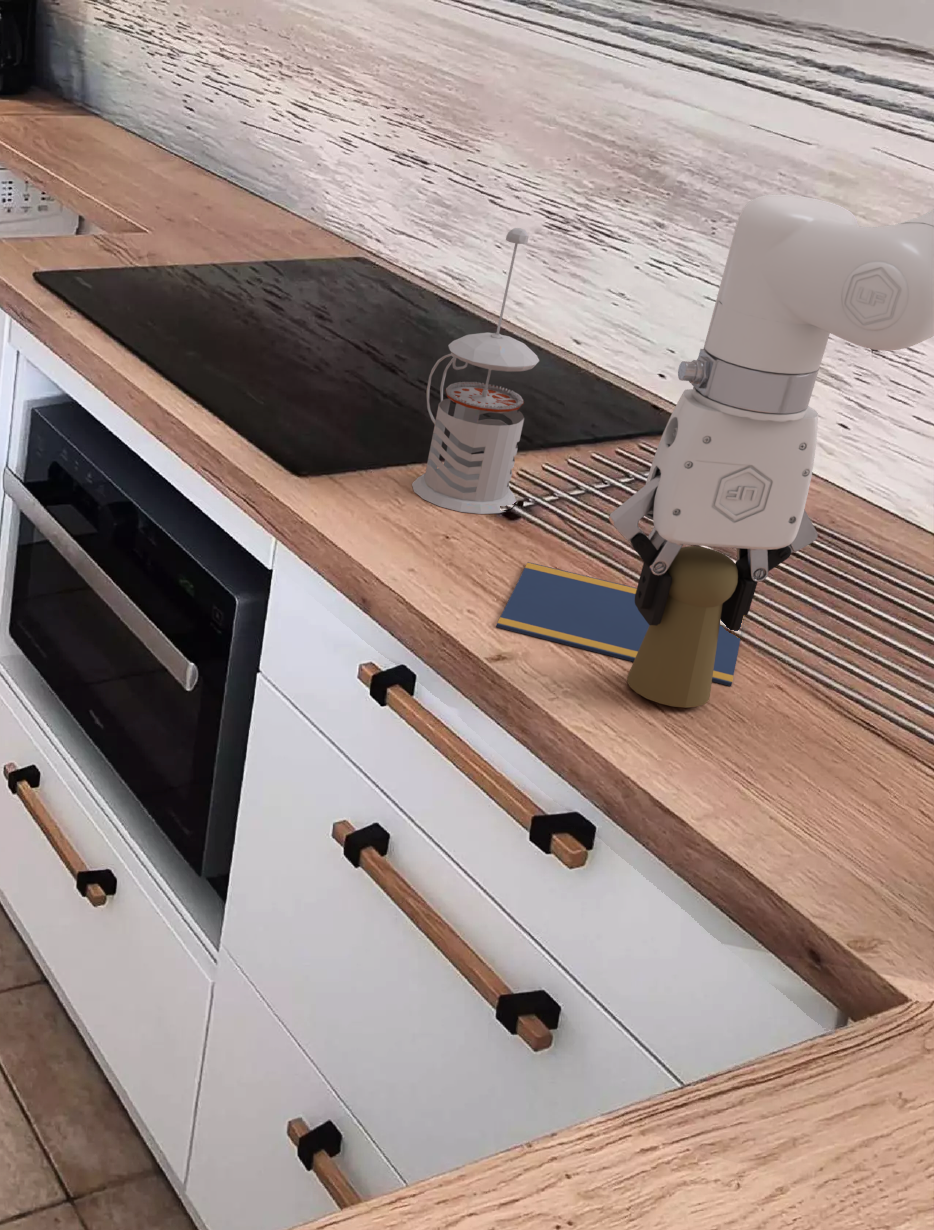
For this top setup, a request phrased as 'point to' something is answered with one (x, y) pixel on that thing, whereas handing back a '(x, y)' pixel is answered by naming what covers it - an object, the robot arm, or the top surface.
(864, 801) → the top surface
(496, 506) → the french press
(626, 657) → the cloth
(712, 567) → the cork
